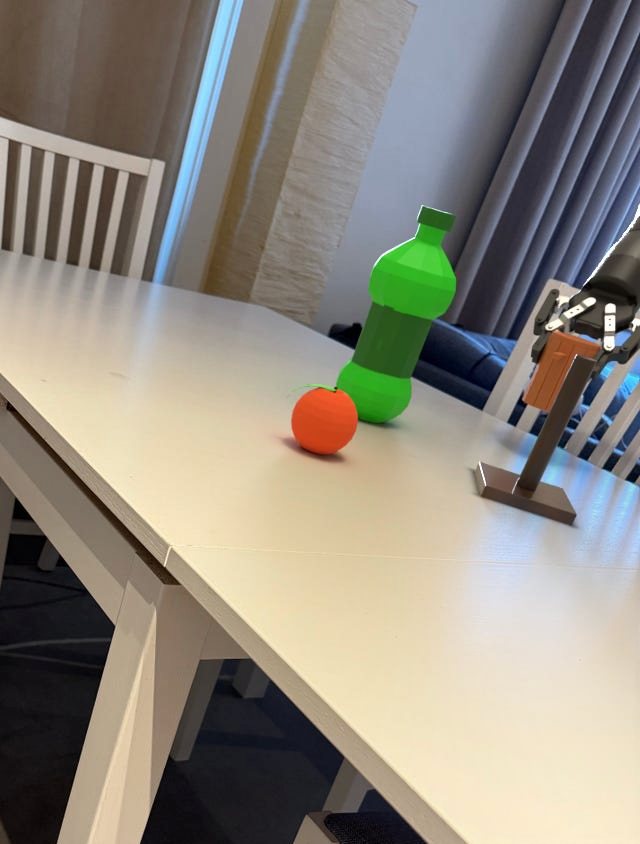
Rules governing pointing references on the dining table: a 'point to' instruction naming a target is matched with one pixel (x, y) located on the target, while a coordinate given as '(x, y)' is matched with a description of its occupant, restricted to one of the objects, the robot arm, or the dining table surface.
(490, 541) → the dining table surface
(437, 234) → the plastic bottle
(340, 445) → the clementine
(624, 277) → the robot arm
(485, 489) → the stand
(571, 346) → the orange letterbox
